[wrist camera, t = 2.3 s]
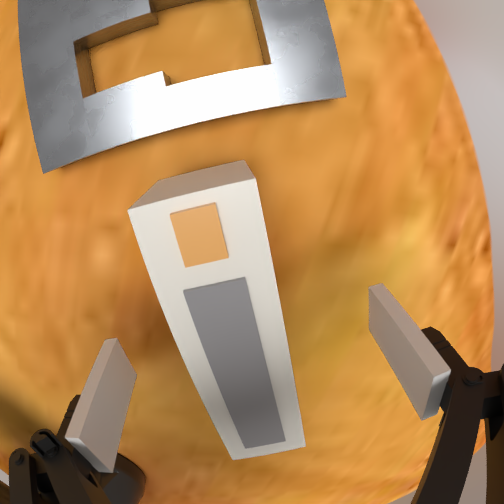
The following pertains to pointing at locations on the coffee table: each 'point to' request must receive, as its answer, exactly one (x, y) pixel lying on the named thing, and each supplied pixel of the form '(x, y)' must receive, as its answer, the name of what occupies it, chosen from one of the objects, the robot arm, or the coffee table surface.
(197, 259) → the white peg
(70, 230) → the coffee table surface
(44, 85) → the keyhole board
